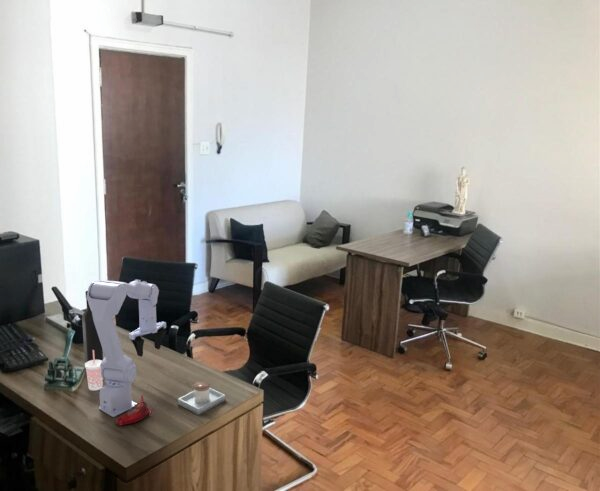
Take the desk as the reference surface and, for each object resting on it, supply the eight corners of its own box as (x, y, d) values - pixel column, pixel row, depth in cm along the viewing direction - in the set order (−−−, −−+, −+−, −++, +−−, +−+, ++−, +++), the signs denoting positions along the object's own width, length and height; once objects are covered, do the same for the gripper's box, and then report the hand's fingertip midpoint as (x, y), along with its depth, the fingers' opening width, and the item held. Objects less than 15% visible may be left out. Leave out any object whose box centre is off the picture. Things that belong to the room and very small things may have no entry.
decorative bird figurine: (147, 428, 166) (114, 429, 166) (160, 398, 183) (130, 399, 183) (146, 420, 165) (113, 421, 165) (160, 391, 182) (130, 392, 182)
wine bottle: (84, 366, 204) (79, 290, 196) (99, 362, 207) (95, 287, 200) (88, 372, 199) (83, 294, 192) (104, 368, 203) (100, 292, 195)
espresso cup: (201, 405, 179) (201, 390, 177) (191, 400, 182) (190, 385, 180) (212, 399, 183) (212, 384, 181) (202, 394, 186) (201, 379, 184)
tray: (198, 414, 175) (198, 409, 174) (177, 404, 181) (177, 398, 180) (225, 400, 184) (225, 394, 184) (204, 390, 190) (204, 385, 190)
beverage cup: (98, 392, 186) (96, 354, 182) (82, 390, 187) (80, 352, 184) (108, 384, 192) (106, 347, 188) (92, 381, 193) (90, 345, 189)
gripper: (137, 325, 183) (139, 362, 186) (171, 313, 194) (172, 348, 197) (124, 319, 187) (126, 356, 190) (158, 308, 198) (159, 343, 202)
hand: (148, 352), depth 194 cm, fingers open, 7 cm apart
